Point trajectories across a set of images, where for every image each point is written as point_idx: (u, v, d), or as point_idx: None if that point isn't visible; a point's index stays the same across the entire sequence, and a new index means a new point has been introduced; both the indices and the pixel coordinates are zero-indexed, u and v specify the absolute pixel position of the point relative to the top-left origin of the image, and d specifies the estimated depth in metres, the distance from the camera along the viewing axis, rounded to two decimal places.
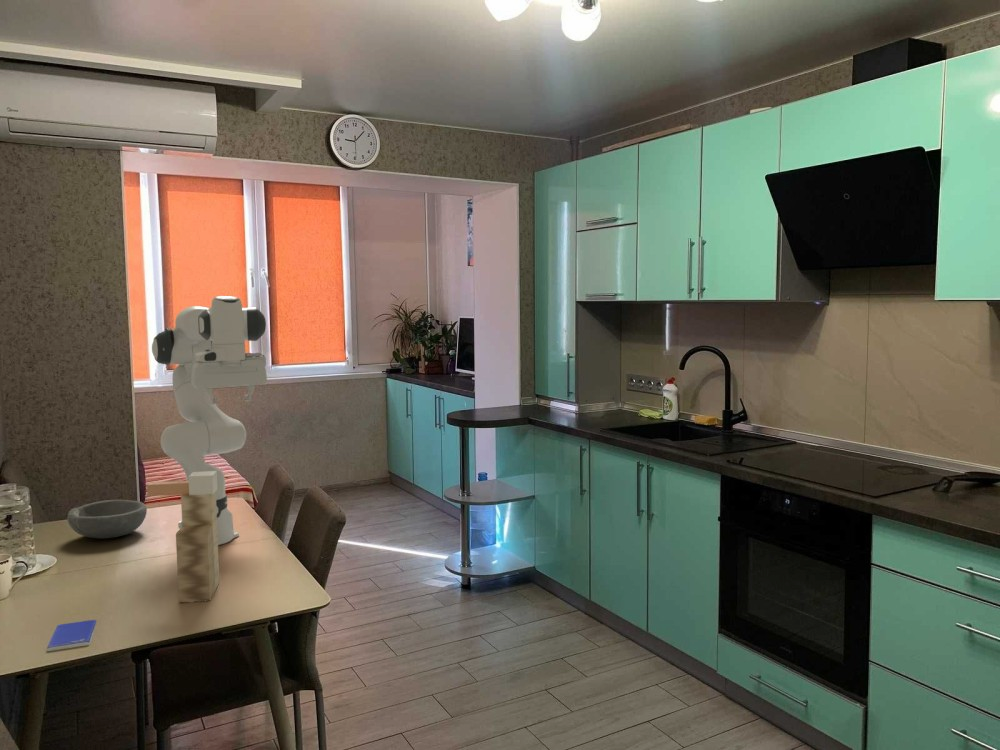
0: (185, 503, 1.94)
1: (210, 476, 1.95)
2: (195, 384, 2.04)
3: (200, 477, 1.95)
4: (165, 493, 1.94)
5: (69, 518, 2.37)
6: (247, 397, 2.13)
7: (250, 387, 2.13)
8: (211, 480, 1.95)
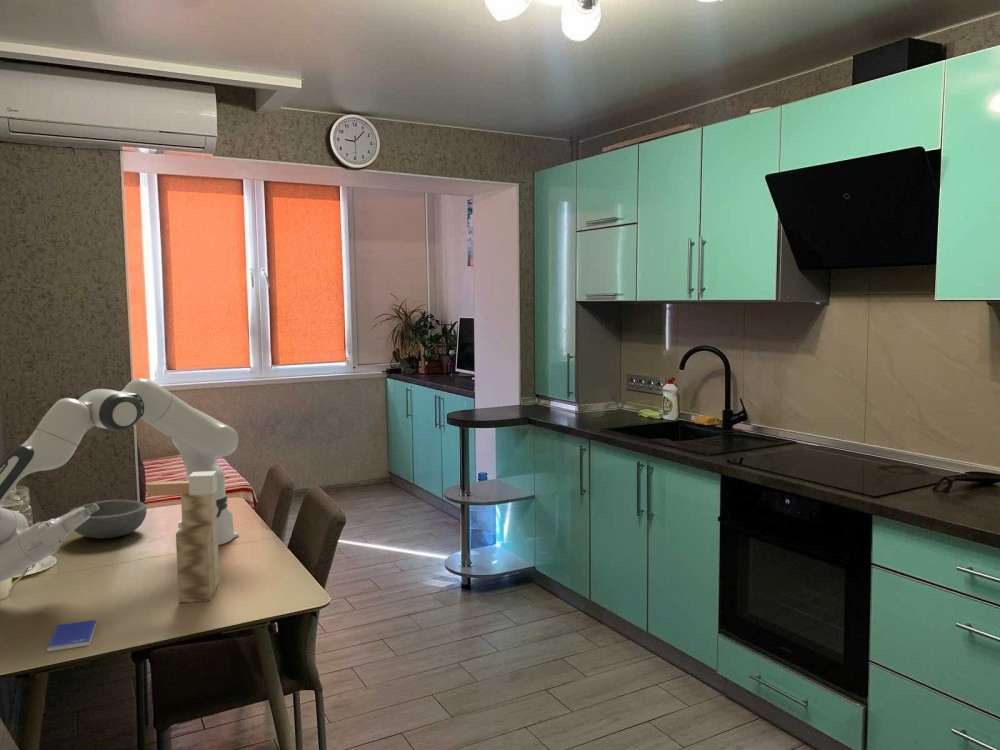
0: (185, 503, 1.94)
1: (210, 476, 1.95)
2: None
3: (200, 477, 1.95)
4: (165, 493, 1.94)
5: None
6: None
7: None
8: (211, 480, 1.95)
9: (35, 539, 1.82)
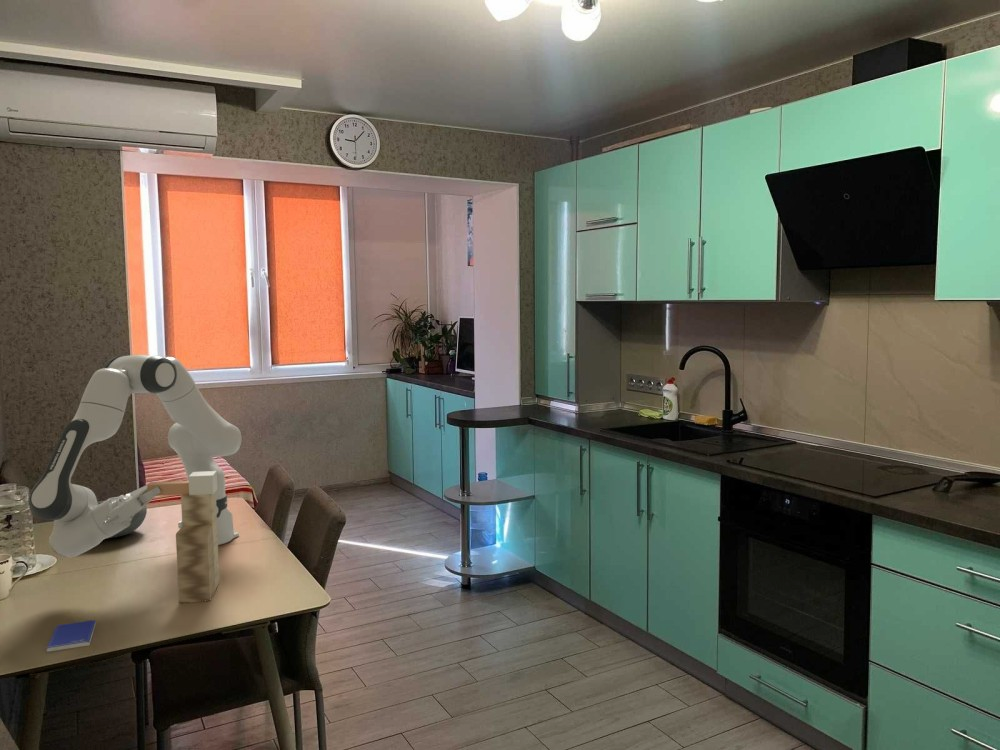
0: (185, 503, 1.94)
1: (210, 476, 1.95)
2: None
3: (200, 477, 1.95)
4: (165, 493, 1.94)
5: None
6: (157, 493, 1.94)
7: None
8: (211, 480, 1.95)
9: (111, 513, 1.85)
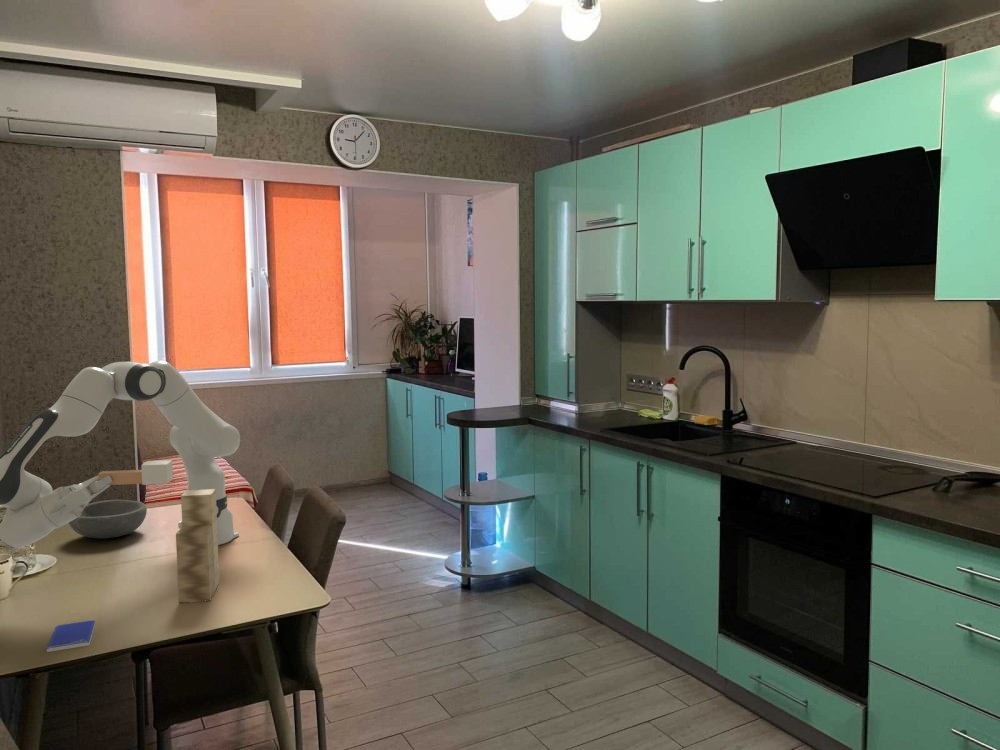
0: (185, 503, 1.94)
1: (164, 465, 1.88)
2: None
3: (153, 466, 1.88)
4: (117, 482, 1.88)
5: None
6: None
7: None
8: (165, 469, 1.89)
9: (59, 502, 1.78)
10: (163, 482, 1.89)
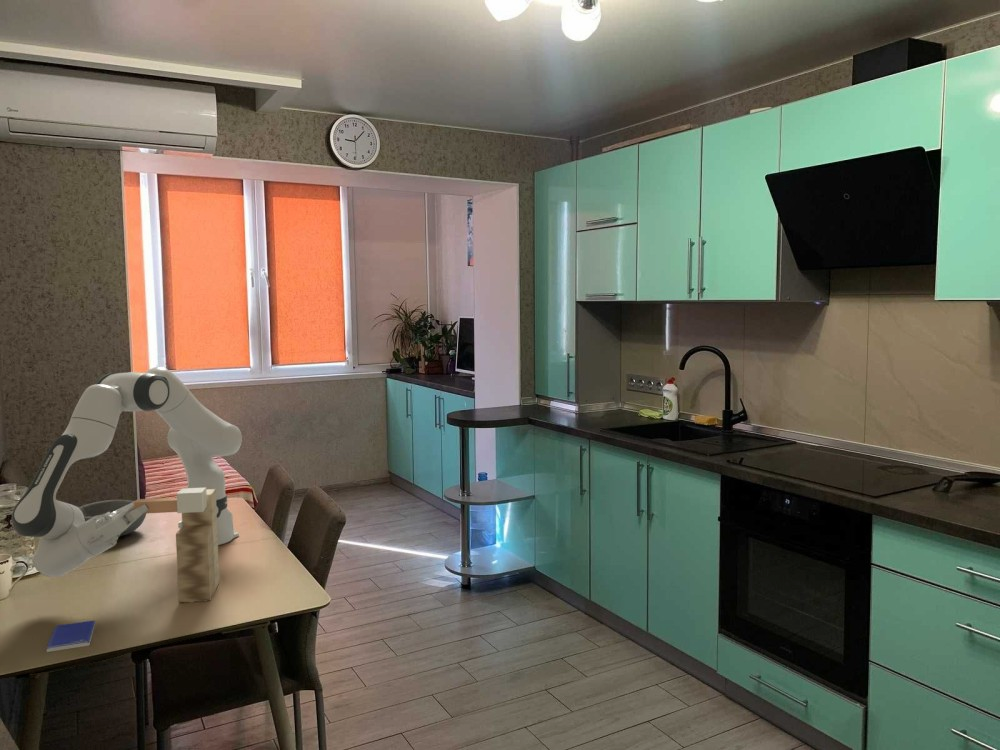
0: None
1: (199, 493, 1.88)
2: None
3: (189, 494, 1.88)
4: (152, 511, 1.88)
5: None
6: (144, 511, 1.87)
7: None
8: (200, 497, 1.88)
9: (96, 532, 1.78)
10: (198, 510, 1.89)
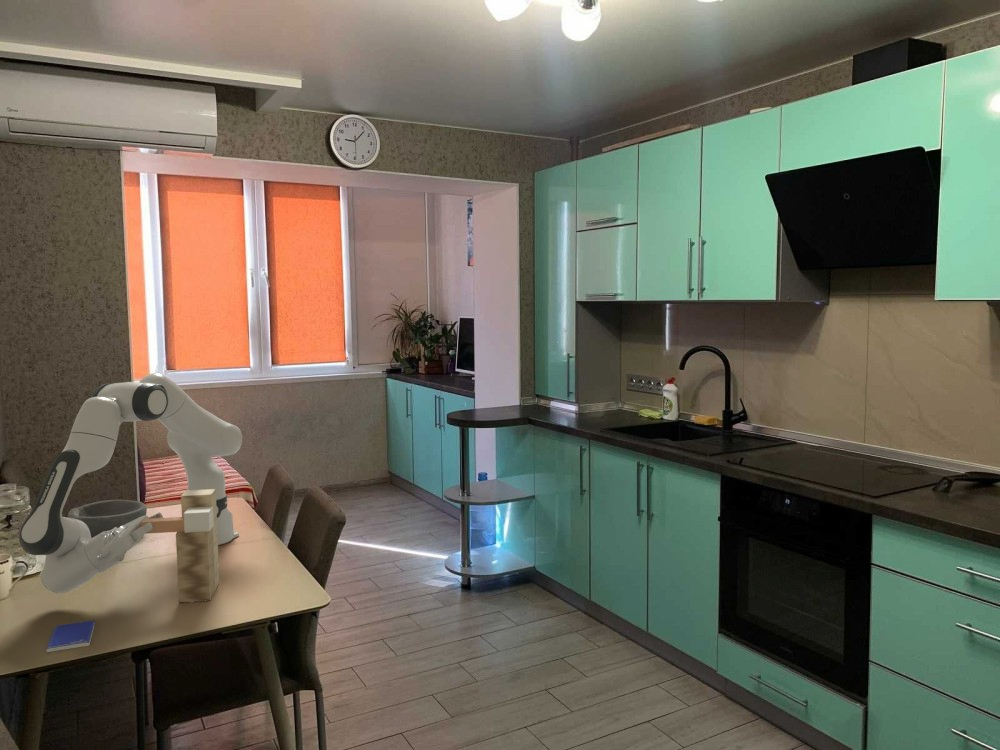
0: (185, 503, 1.94)
1: (206, 513, 1.89)
2: None
3: (196, 514, 1.89)
4: (160, 530, 1.89)
5: None
6: (149, 530, 1.85)
7: None
8: (207, 517, 1.89)
9: (104, 549, 1.79)
10: (205, 530, 1.89)
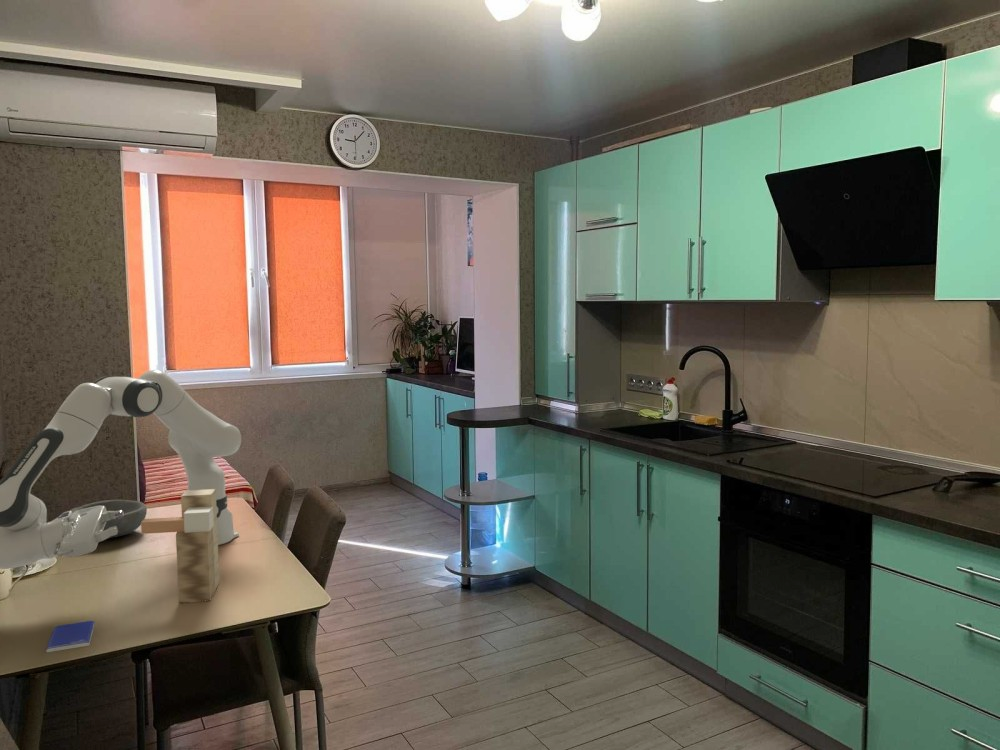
0: (185, 503, 1.94)
1: (206, 513, 1.89)
2: None
3: (196, 514, 1.89)
4: (160, 530, 1.89)
5: None
6: None
7: None
8: (207, 517, 1.89)
9: (66, 546, 1.78)
10: (205, 530, 1.89)
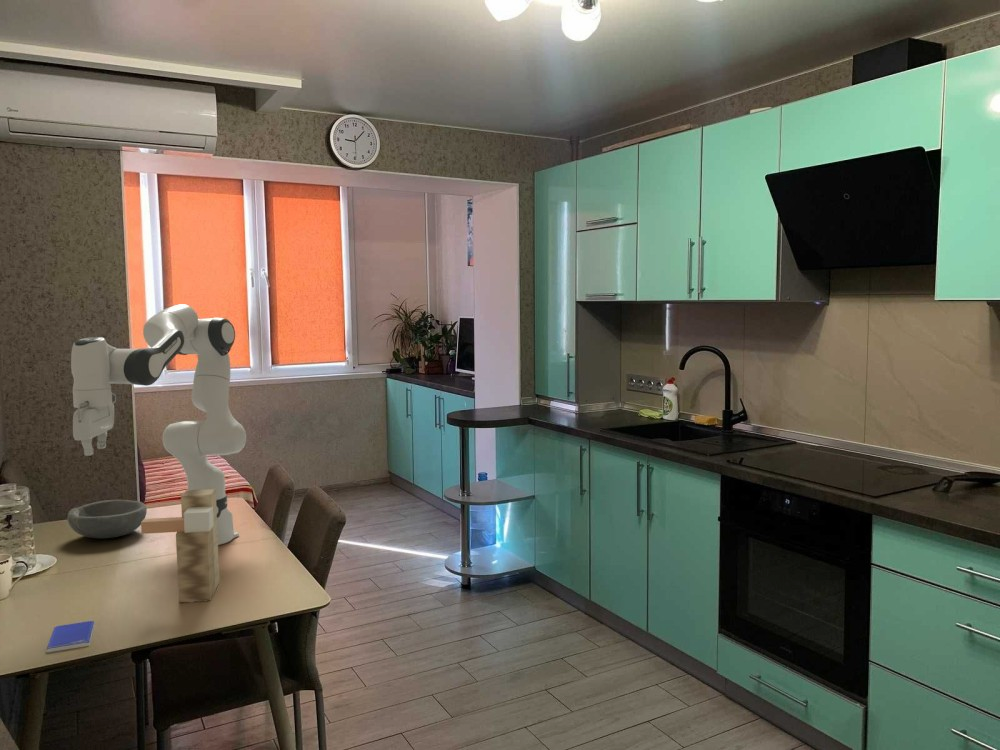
0: (185, 503, 1.94)
1: (206, 513, 1.89)
2: None
3: (196, 514, 1.89)
4: (160, 530, 1.89)
5: (69, 518, 2.37)
6: None
7: None
8: (207, 517, 1.89)
9: (85, 417, 1.86)
10: (205, 530, 1.89)
